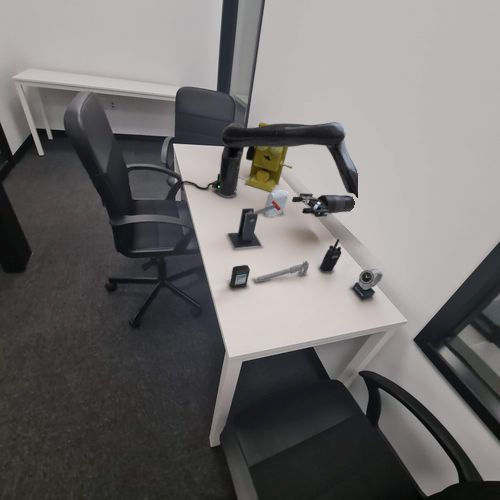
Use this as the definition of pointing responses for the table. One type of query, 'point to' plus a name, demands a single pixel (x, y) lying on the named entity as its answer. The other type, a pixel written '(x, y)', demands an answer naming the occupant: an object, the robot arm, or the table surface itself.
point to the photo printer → (279, 198)
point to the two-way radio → (331, 258)
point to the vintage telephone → (265, 165)
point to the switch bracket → (245, 231)
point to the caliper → (285, 272)
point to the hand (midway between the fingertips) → (297, 205)
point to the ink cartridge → (239, 276)
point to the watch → (367, 283)
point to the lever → (265, 209)
